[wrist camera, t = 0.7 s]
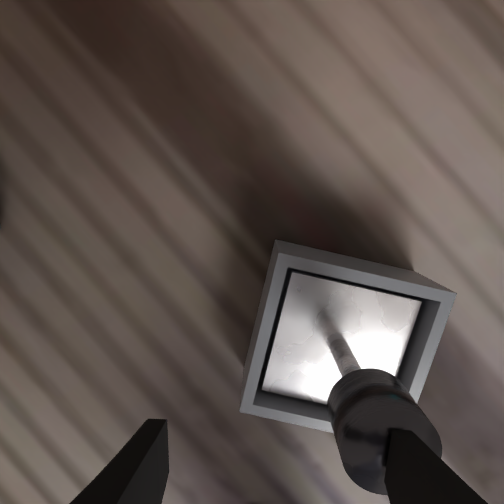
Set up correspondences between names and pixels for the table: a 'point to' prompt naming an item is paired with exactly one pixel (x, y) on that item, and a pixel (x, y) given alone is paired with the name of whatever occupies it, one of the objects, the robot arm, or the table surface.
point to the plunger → (349, 368)
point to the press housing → (353, 272)
